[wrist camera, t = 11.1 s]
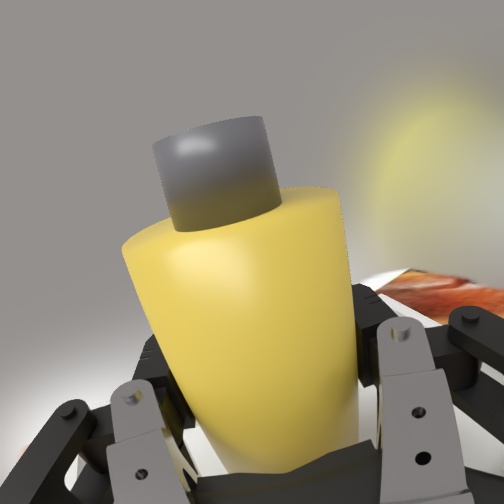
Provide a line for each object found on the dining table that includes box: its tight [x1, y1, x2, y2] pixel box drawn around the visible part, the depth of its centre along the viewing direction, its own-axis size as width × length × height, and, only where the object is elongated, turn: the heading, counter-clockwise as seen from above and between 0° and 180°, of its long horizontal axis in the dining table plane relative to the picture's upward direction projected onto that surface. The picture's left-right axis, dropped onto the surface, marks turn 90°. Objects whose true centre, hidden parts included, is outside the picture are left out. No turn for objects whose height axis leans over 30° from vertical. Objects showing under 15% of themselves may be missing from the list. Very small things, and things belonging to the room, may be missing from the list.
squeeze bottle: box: [122, 116, 359, 474], centre depth 9 cm, size 5×5×14 cm
